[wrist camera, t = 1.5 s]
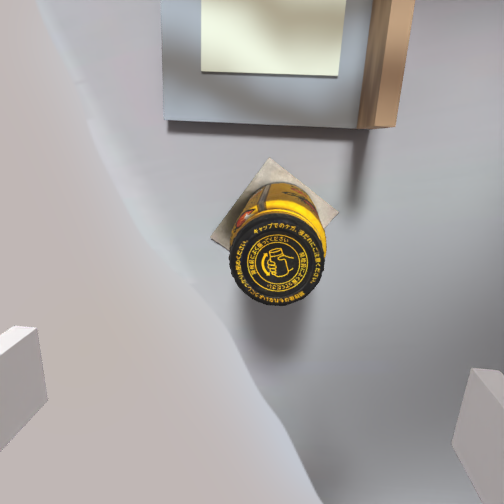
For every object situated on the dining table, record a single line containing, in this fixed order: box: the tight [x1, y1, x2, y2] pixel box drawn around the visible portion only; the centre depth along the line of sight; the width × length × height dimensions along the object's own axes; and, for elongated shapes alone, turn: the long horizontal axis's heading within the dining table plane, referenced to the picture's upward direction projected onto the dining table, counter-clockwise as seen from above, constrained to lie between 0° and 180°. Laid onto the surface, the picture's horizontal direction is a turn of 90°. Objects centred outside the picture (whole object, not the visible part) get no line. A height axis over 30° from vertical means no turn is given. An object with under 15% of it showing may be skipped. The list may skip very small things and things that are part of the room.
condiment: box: [210, 157, 339, 306], centre depth 25 cm, size 7×8×12 cm
